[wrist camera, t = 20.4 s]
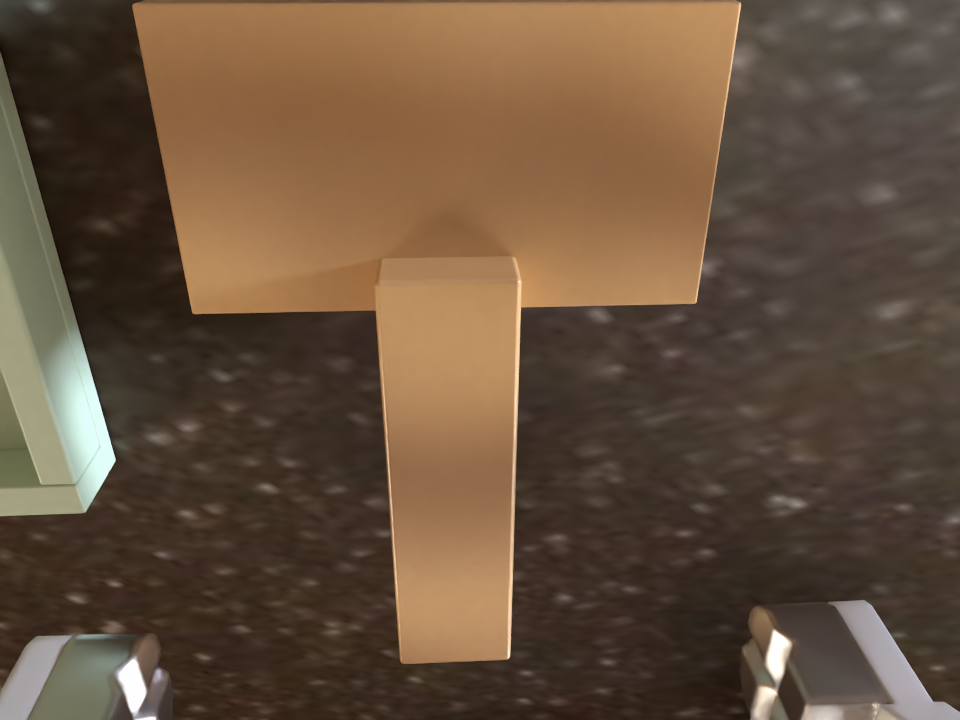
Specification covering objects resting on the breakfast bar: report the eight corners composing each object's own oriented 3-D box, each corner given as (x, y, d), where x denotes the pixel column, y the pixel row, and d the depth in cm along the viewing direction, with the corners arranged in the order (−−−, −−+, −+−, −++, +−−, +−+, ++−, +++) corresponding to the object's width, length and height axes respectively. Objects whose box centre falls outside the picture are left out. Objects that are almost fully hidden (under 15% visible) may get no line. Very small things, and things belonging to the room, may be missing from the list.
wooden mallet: (618, 519, 21) (660, 654, 17) (280, 530, 21) (244, 672, 17) (678, -15, 15) (767, 8, 11) (194, -14, 14) (105, 9, 10)
